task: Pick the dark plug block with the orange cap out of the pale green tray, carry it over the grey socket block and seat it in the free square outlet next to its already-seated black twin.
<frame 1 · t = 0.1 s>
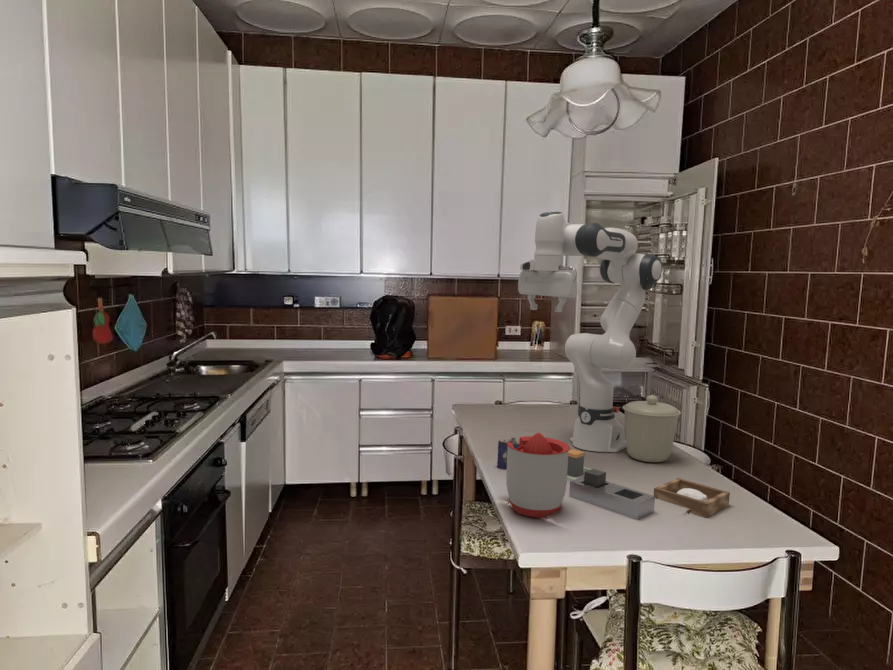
hand: (545, 310, 191), 48 cm above the table, fingers open, 8 cm apart
canister: (647, 458, 205), on the table
tray: (573, 477, 184), on the table
twin plug: (593, 497, 165), point 1 cm above the table, touching grey socket block
grey socket block: (610, 507, 161), on the table
citrus juicer: (531, 509, 158), on the table
plug: (573, 475, 184), point 1 cm above the table, touching tray
blue box: (512, 471, 188), on the table
garlic corral: (690, 503, 166), on the table
garlic: (691, 504, 166), resting in garlic corral
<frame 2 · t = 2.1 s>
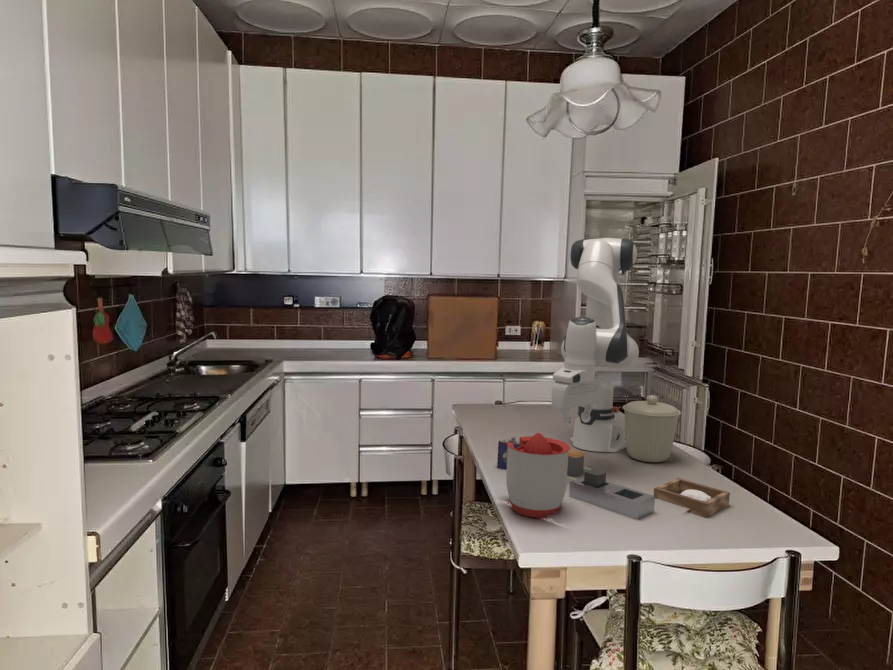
hand: (576, 420, 182), 17 cm above the table, fingers open, 8 cm apart
garlic: (695, 506, 165), resting in garlic corral
everything else where it was.
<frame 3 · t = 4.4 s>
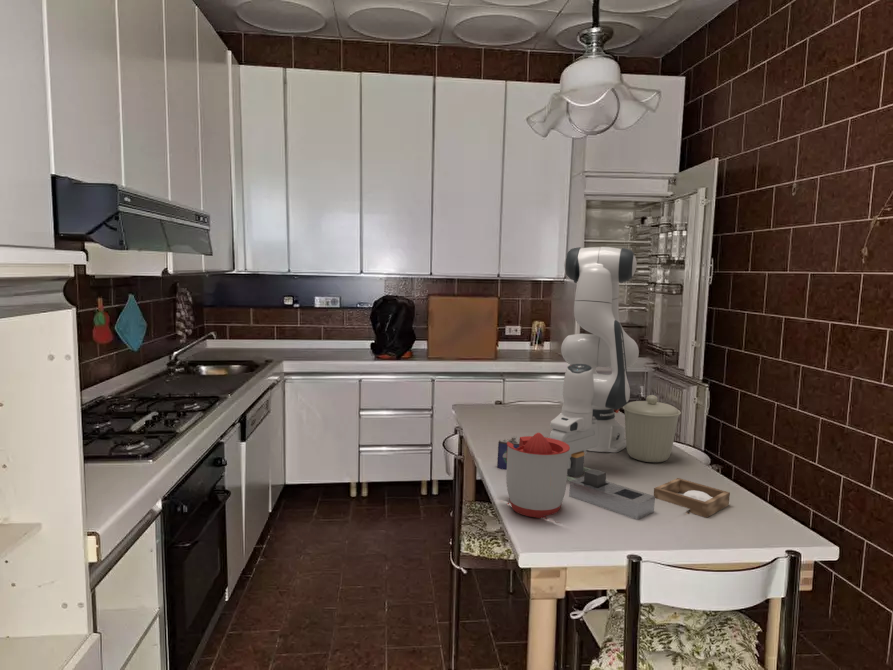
hand: (573, 466, 183), 3 cm above the table, fingers closed on plug, 4 cm apart
plug: (573, 475, 184), point 1 cm above the table, touching gripper, tray
everything else where it was.
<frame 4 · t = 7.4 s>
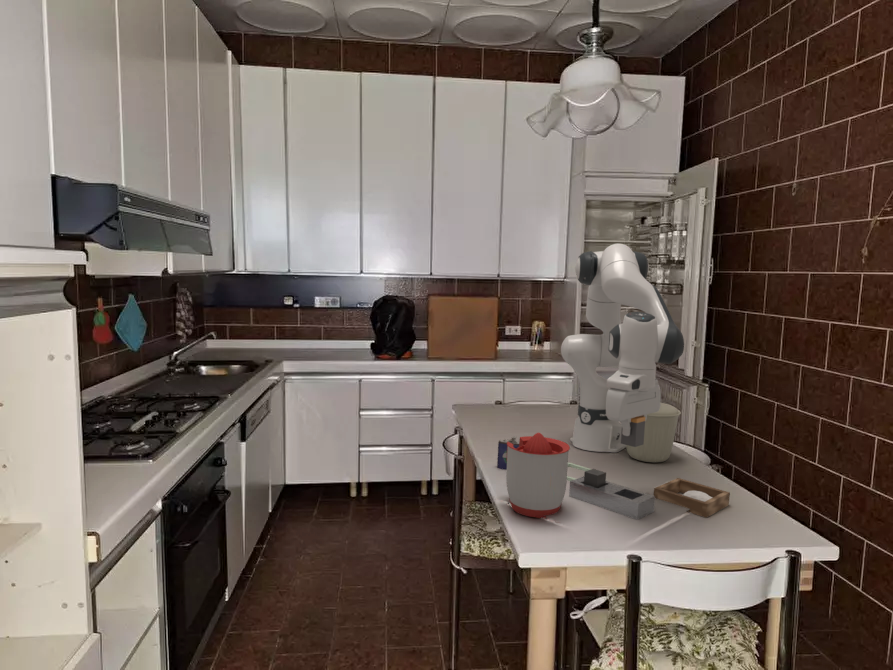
hand: (632, 433, 155), 21 cm above the table, fingers closed on plug, 4 cm apart
plug: (632, 443, 155), point 18 cm above the table, touching gripper
everything else where it was.
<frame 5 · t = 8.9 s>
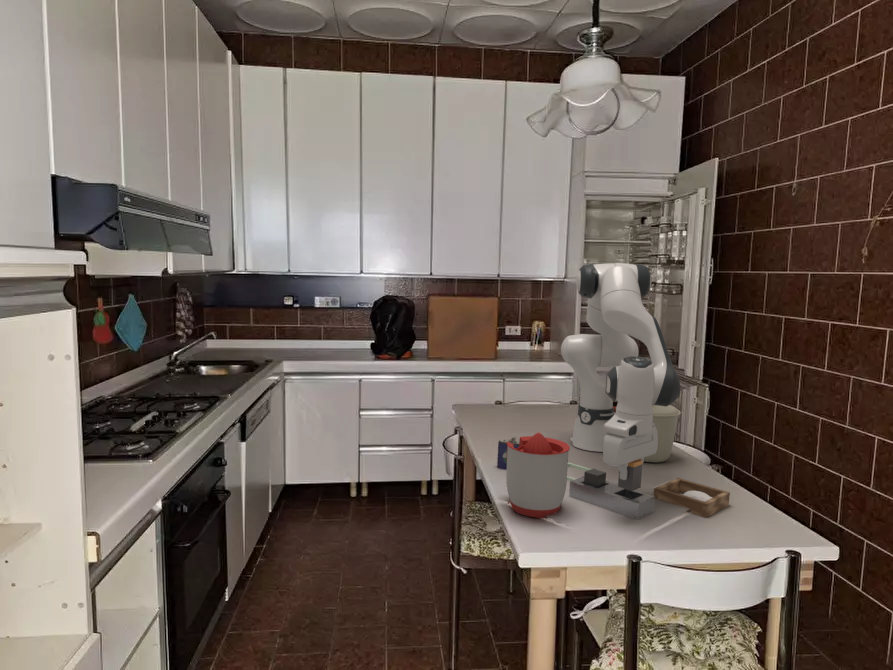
hand: (629, 476, 156), 9 cm above the table, fingers closed on plug, 4 cm apart
plug: (629, 487, 157), point 7 cm above the table, touching gripper
everything else where it was.
when the fingers open (5 cm above the table, at t = 10.5 s): plug drops 2 cm, resting on grey socket block.
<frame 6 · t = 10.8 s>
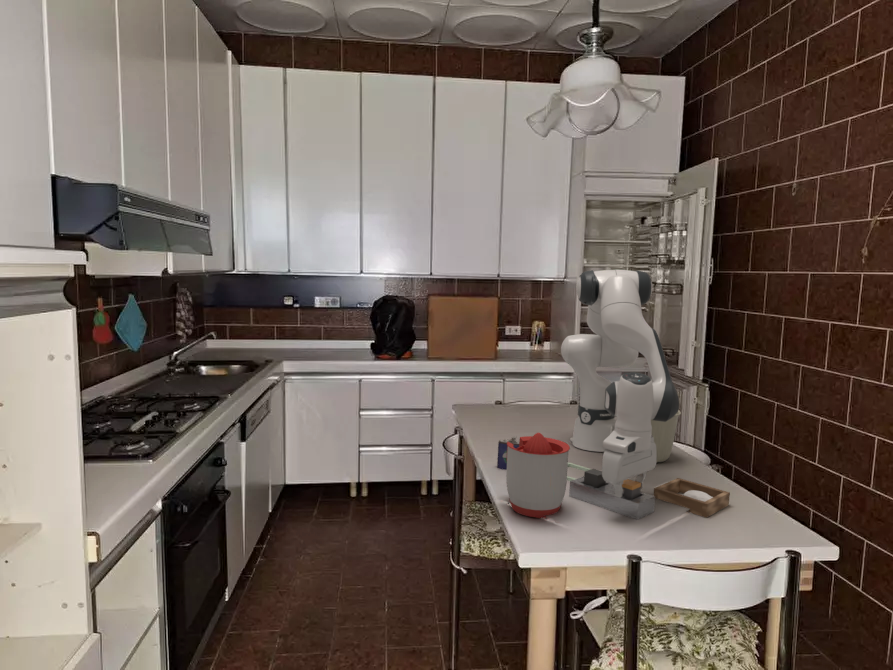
hand: (628, 492, 157), 5 cm above the table, fingers open, 7 cm apart
plug: (627, 509, 157), point 1 cm above the table, touching grey socket block
everything else where it was.
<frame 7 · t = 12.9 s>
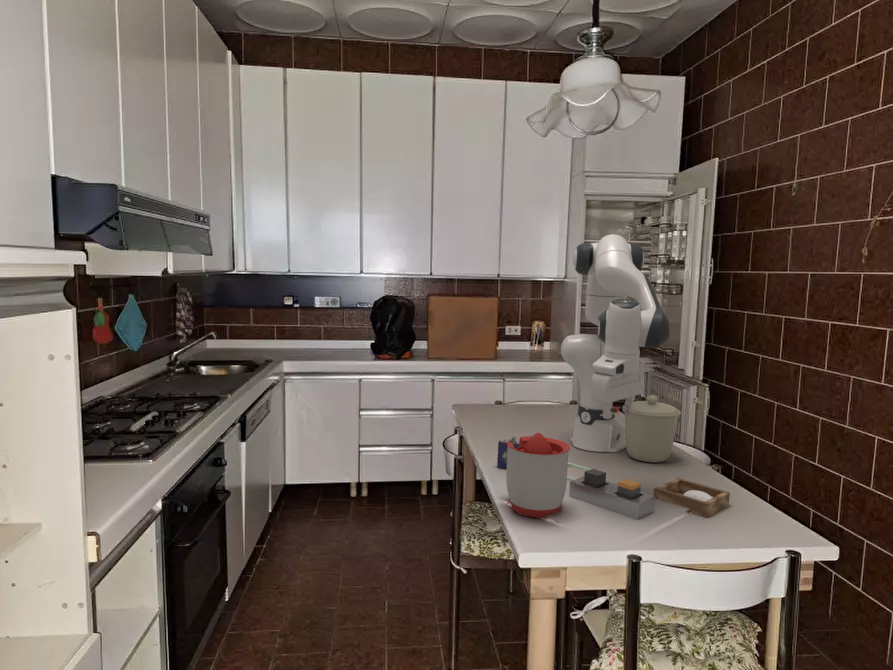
hand: (617, 415, 162), 23 cm above the table, fingers open, 8 cm apart
nothing on the table moved.
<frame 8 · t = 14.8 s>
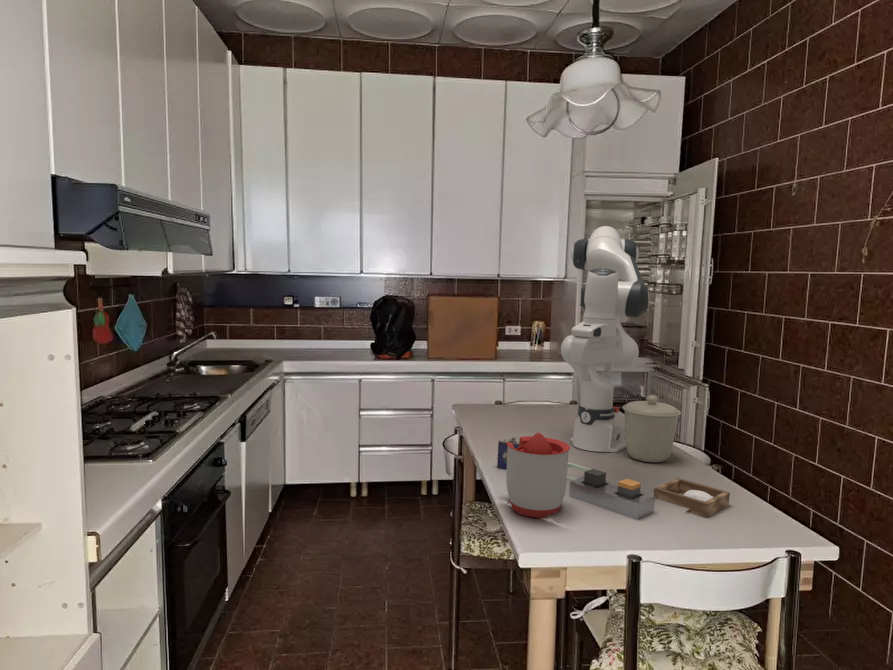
hand: (596, 379, 170), 31 cm above the table, fingers open, 8 cm apart
nothing on the table moved.
at the end: plug 0.1 cm from the target spot on the grey socket block, point 1.0 cm above the grey socket block's base; plug tilted 0°; the gripper is holding nothing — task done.
